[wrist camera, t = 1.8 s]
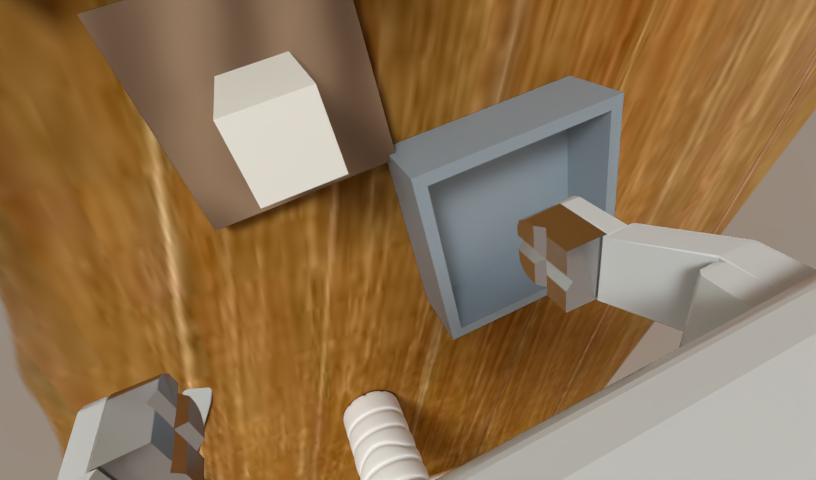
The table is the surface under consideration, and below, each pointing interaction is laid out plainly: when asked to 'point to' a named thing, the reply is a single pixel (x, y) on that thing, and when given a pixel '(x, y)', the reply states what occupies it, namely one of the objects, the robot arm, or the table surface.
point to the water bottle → (382, 439)
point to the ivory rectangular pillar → (276, 128)
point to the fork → (201, 399)
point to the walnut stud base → (228, 50)
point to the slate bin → (501, 191)
